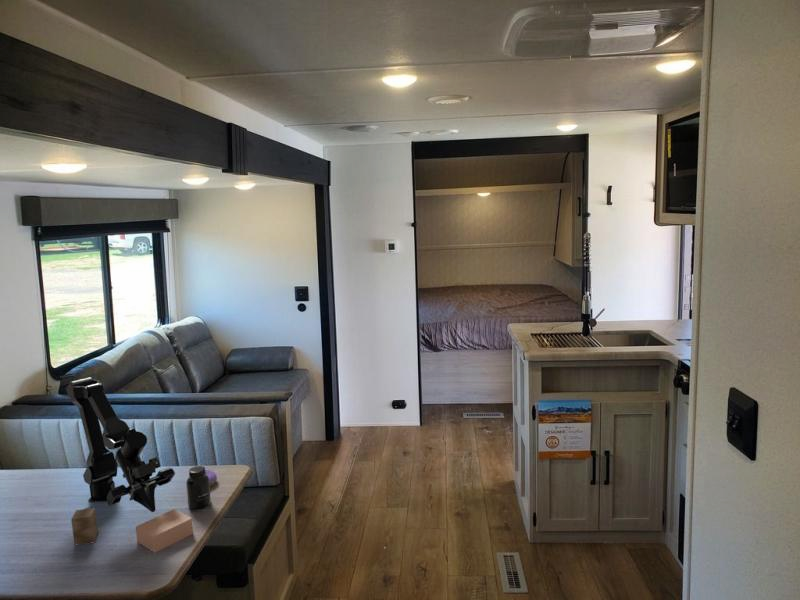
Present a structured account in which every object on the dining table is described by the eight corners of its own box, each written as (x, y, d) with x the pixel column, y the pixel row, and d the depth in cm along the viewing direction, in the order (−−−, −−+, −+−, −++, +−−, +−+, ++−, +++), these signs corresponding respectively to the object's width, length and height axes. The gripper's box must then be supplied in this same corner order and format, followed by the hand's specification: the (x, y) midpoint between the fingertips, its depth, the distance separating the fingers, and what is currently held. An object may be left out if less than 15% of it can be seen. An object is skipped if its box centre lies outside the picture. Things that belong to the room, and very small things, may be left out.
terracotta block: (135, 526, 173) (152, 537, 168) (174, 509, 183) (191, 518, 177) (137, 542, 174) (154, 553, 169) (175, 524, 183) (193, 534, 178)
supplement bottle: (204, 511, 190) (201, 474, 188) (184, 509, 192) (180, 473, 189) (215, 500, 197) (212, 465, 195) (195, 498, 198) (192, 463, 196)
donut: (187, 479, 211) (189, 466, 211) (215, 480, 214) (217, 467, 214) (186, 492, 202) (188, 478, 201) (215, 493, 205) (217, 479, 204)
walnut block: (74, 545, 173) (71, 519, 172) (79, 536, 178) (76, 510, 177) (93, 542, 174) (90, 516, 173) (98, 533, 179) (95, 507, 178)
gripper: (106, 462, 171) (129, 512, 166) (169, 441, 185) (192, 486, 180) (97, 481, 178) (119, 529, 173) (158, 459, 192) (180, 503, 187)
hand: (153, 511), depth 178 cm, fingers closed
